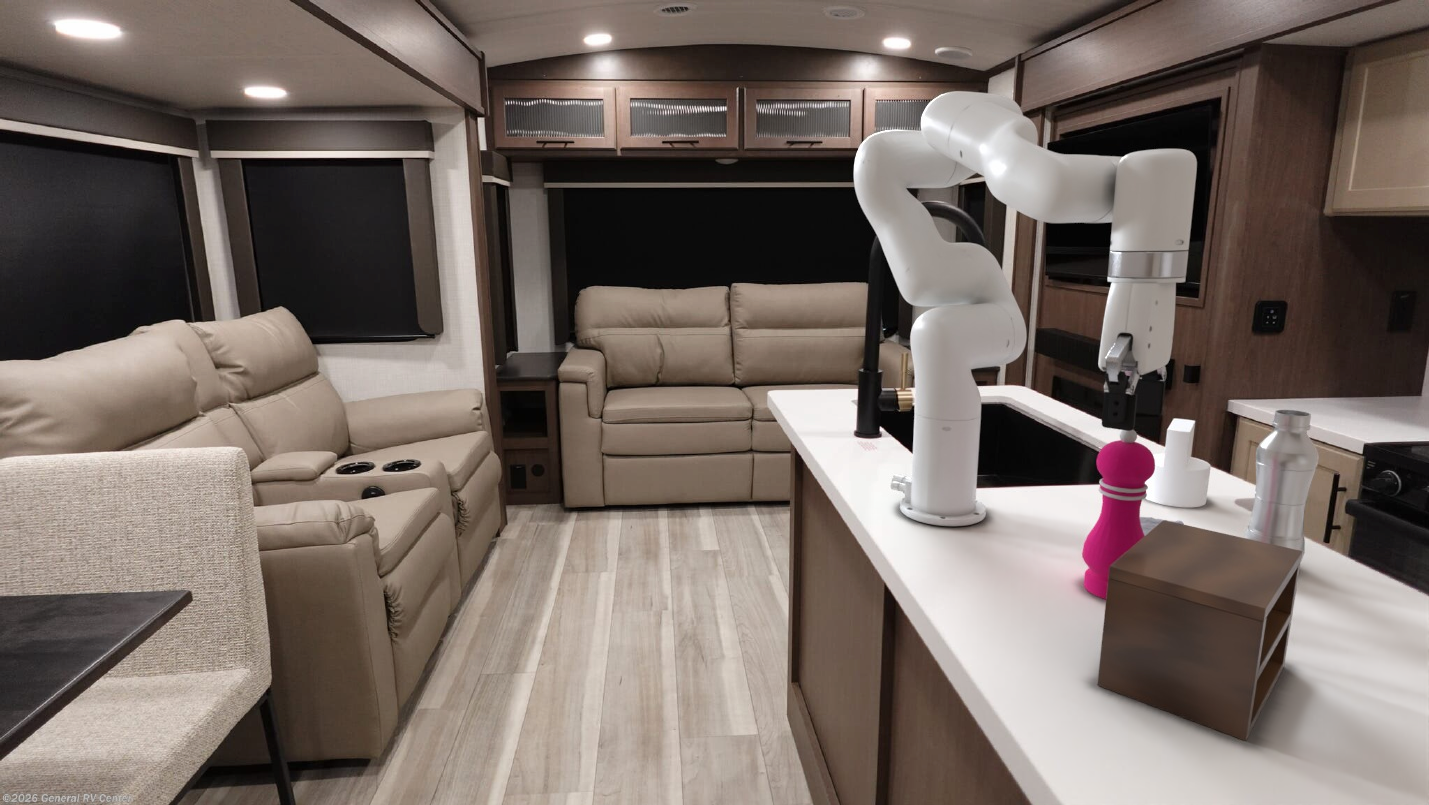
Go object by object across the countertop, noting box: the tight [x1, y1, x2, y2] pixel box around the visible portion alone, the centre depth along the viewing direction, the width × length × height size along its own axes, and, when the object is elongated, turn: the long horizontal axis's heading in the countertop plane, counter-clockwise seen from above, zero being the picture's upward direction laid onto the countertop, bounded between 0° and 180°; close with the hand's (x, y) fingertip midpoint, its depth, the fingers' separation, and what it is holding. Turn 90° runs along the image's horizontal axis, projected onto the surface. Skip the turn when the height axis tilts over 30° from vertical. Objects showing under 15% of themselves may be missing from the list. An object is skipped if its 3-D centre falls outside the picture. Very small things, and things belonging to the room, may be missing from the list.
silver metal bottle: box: [1243, 409, 1320, 562], centre depth 98 cm, size 6×7×20 cm
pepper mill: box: [1081, 429, 1155, 600], centre depth 91 cm, size 7×7×20 cm
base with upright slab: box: [1145, 418, 1212, 509], centre depth 124 cm, size 9×9×12 cm
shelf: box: [1096, 519, 1302, 741], centre depth 74 cm, size 12×16×12 cm
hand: (1132, 420), depth 89 cm, fingers open, 9 cm apart
